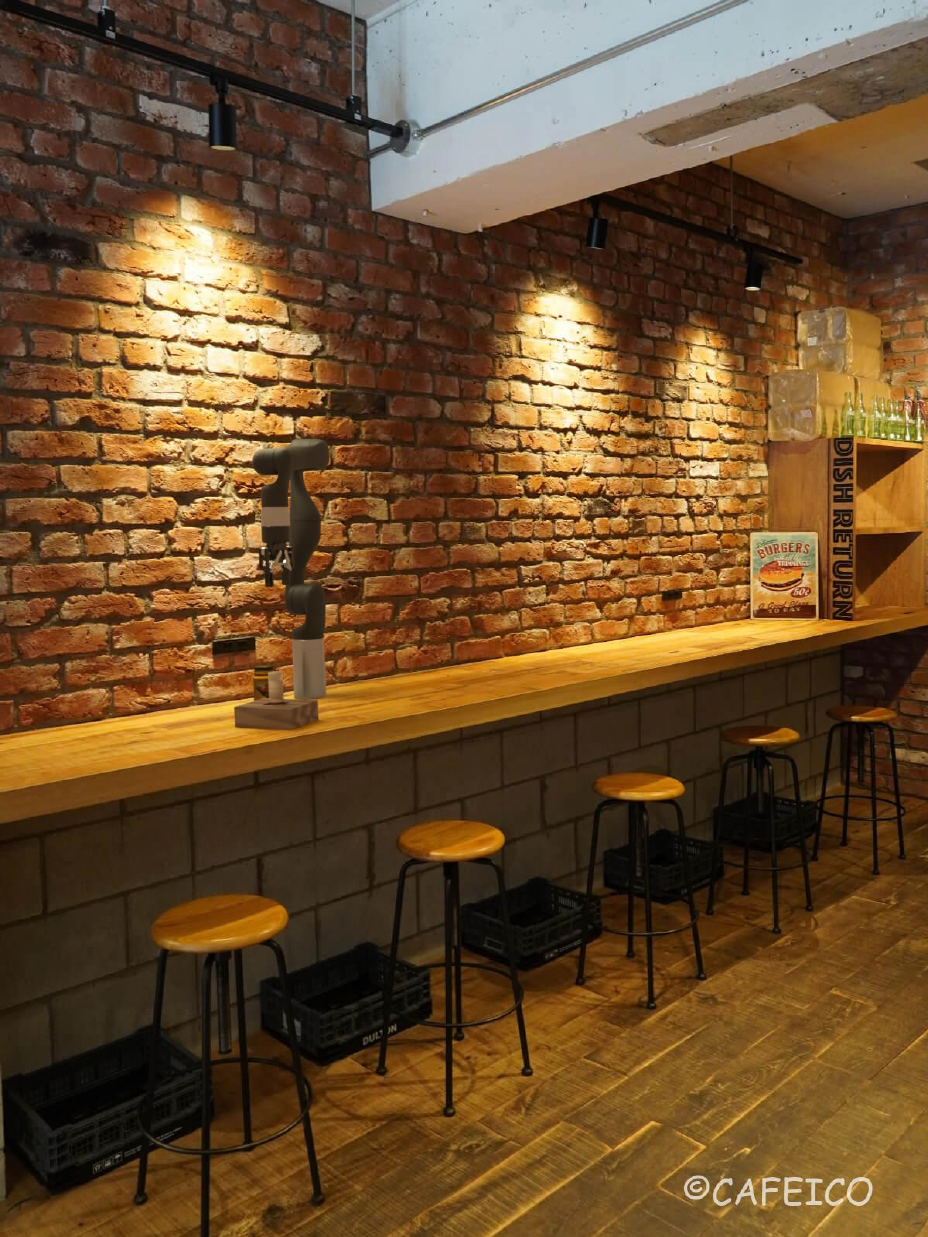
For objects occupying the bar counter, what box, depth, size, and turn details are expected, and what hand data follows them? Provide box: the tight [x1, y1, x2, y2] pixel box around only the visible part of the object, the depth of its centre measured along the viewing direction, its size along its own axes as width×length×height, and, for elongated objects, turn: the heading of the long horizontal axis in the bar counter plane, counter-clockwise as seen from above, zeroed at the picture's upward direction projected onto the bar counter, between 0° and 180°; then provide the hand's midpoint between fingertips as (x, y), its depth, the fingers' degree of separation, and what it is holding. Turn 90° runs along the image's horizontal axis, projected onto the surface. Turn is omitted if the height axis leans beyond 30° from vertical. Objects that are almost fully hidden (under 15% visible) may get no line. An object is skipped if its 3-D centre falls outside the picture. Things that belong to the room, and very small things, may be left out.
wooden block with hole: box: [233, 698, 319, 730], centre depth 265 cm, size 14×16×5 cm
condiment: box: [252, 664, 275, 701], centre depth 287 cm, size 7×8×12 cm
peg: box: [268, 670, 285, 706], centre depth 265 cm, size 4×4×13 cm
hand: (277, 586), depth 277 cm, fingers open, 8 cm apart
